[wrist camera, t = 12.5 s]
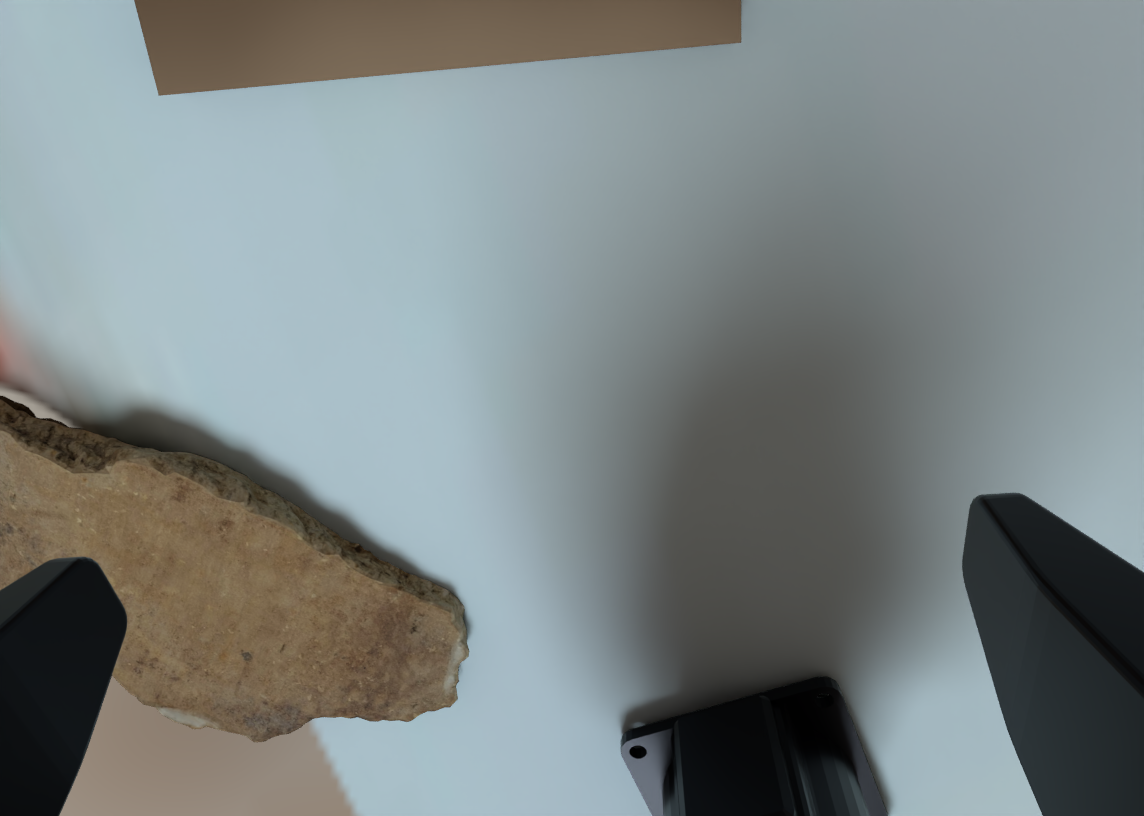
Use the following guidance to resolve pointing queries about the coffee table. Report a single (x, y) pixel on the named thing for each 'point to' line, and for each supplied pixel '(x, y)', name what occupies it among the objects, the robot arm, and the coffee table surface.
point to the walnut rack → (405, 36)
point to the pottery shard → (225, 586)
